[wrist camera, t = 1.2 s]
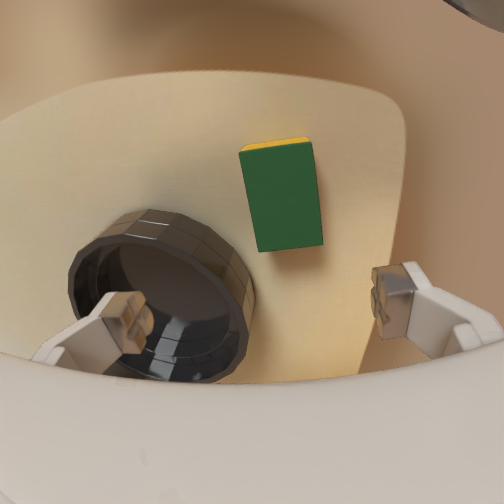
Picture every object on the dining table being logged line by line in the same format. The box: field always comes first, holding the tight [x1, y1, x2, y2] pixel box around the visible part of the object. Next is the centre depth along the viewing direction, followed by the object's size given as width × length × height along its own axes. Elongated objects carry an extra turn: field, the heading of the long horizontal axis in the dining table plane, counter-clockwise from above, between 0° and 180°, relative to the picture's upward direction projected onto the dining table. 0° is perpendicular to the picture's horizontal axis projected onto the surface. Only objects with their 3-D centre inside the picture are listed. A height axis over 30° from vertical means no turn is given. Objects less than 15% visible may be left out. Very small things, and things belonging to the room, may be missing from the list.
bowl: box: [68, 209, 255, 383], centre depth 25 cm, size 16×16×6 cm
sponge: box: [239, 137, 323, 252], centre depth 20 cm, size 7×4×4 cm, turn 11°
